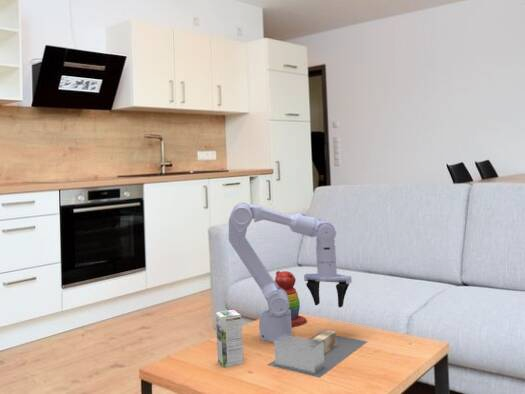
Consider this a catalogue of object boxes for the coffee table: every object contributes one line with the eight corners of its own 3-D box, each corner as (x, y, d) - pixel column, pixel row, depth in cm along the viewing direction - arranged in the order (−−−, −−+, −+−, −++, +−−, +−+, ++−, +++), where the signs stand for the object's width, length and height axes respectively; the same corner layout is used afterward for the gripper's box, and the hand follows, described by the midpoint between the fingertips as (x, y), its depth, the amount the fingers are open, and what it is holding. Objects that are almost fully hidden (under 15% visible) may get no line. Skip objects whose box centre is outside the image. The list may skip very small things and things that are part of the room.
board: (267, 368, 134) (267, 364, 134) (319, 336, 156) (319, 332, 156) (319, 381, 124) (319, 377, 124) (367, 344, 147) (367, 341, 146)
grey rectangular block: (275, 365, 133) (274, 340, 133) (285, 358, 137) (284, 334, 137) (314, 374, 126) (313, 348, 126) (324, 367, 130) (323, 341, 130)
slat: (303, 367, 130) (302, 352, 130) (294, 365, 132) (293, 350, 132) (336, 345, 145) (336, 331, 145) (327, 343, 147) (326, 330, 146)
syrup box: (217, 364, 139) (214, 312, 138) (237, 359, 141) (234, 308, 140) (224, 371, 133) (220, 317, 132) (245, 366, 136) (241, 313, 135)
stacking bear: (309, 322, 170) (306, 270, 169) (290, 330, 163) (287, 276, 162) (285, 316, 178) (282, 266, 177) (265, 324, 170) (262, 272, 169)
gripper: (298, 262, 151) (301, 307, 152) (344, 264, 144) (347, 311, 145) (308, 258, 157) (311, 300, 158) (352, 259, 150) (355, 304, 151)
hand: (328, 305), depth 152 cm, fingers open, 7 cm apart
